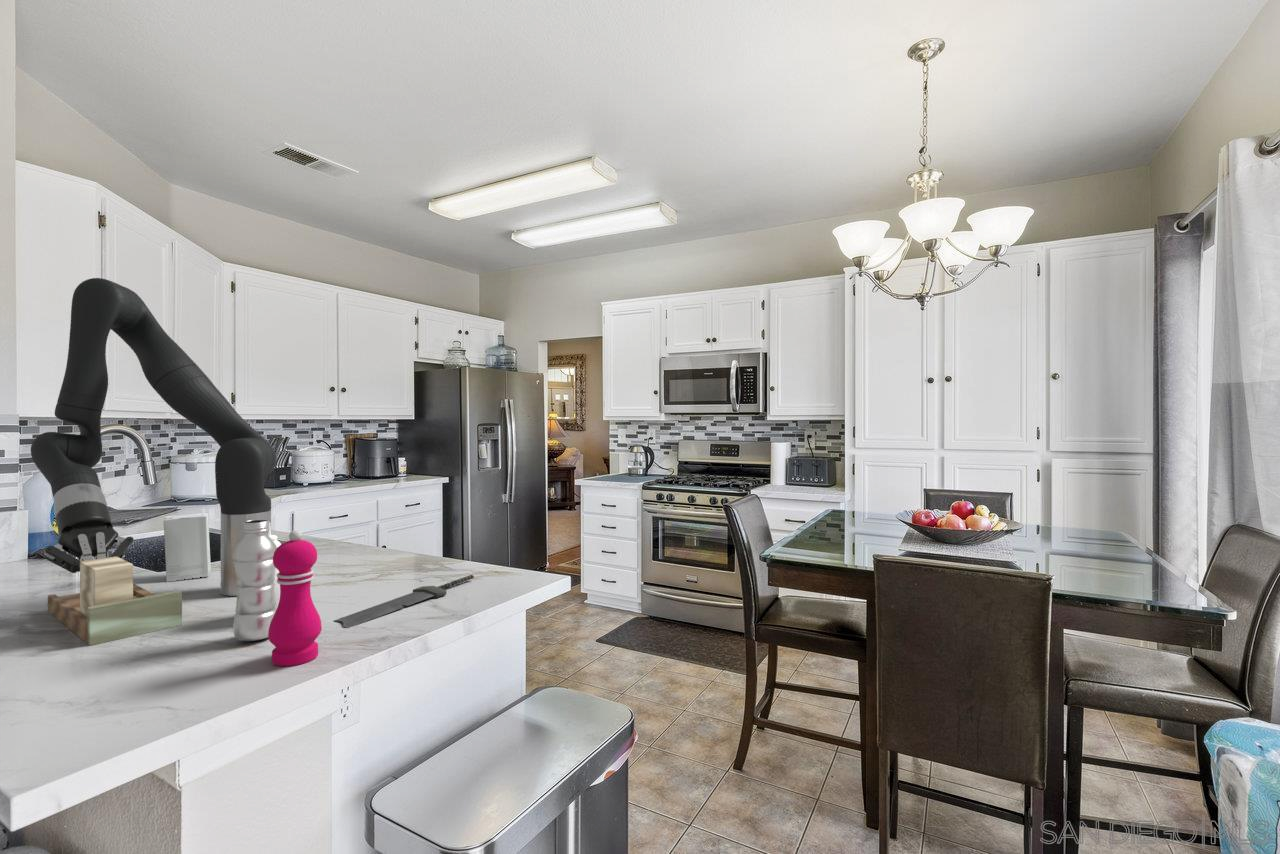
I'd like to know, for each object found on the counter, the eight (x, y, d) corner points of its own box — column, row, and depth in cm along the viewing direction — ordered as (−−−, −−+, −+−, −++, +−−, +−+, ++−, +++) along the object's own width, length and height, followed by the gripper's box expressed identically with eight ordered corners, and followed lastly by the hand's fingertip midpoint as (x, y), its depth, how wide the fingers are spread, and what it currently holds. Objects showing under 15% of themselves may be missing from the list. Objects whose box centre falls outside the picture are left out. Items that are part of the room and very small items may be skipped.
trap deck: (47, 610, 116) (47, 580, 116) (130, 595, 126) (130, 567, 126) (90, 645, 98) (90, 609, 98) (182, 625, 108) (182, 591, 108)
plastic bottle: (288, 634, 103) (288, 519, 103) (251, 648, 97) (251, 525, 97) (260, 630, 106) (260, 517, 105) (222, 643, 99) (222, 523, 99)
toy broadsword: (323, 628, 110) (322, 617, 110) (460, 579, 141) (460, 570, 141) (349, 634, 107) (348, 623, 106) (484, 582, 138) (484, 573, 138)
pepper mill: (282, 650, 96) (283, 526, 96) (329, 649, 97) (329, 526, 97) (258, 668, 89) (258, 534, 89) (308, 667, 90) (308, 534, 90)
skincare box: (210, 572, 146) (210, 511, 146) (208, 578, 141) (208, 515, 141) (167, 577, 142) (167, 514, 141) (163, 582, 136) (163, 517, 136)
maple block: (79, 614, 106) (79, 561, 106) (116, 607, 110) (116, 556, 110) (95, 626, 100) (95, 569, 100) (133, 618, 104) (133, 564, 104)
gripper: (37, 503, 109) (52, 581, 102) (129, 496, 120) (149, 566, 113) (31, 529, 112) (45, 606, 105) (122, 520, 123) (140, 589, 116)
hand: (99, 585), depth 109 cm, fingers closed
